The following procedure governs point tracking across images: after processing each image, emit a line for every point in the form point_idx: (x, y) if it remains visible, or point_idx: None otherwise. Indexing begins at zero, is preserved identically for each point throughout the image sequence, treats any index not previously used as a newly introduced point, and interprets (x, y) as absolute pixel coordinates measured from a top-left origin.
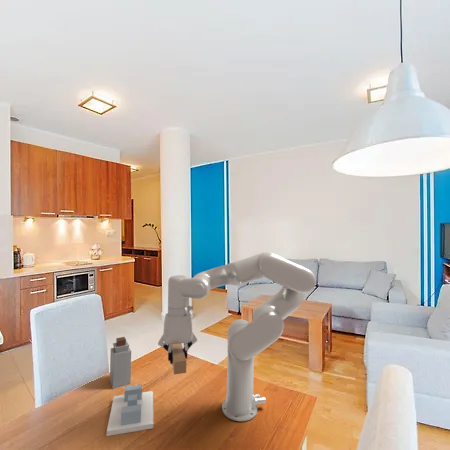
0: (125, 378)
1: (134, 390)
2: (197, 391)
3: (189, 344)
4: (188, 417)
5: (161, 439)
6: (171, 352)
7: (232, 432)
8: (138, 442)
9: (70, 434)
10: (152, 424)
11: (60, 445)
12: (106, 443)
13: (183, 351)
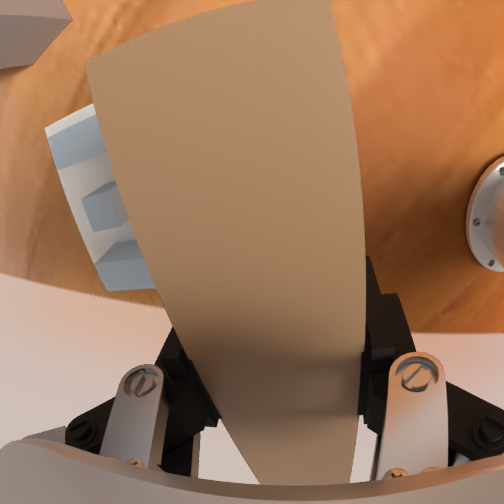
0: (41, 33)
1: (87, 158)
2: (389, 59)
3: (448, 464)
4: None
5: None
6: (205, 417)
7: (457, 299)
8: None
9: (40, 259)
10: None
11: (46, 284)
12: (121, 296)
13: (357, 406)
